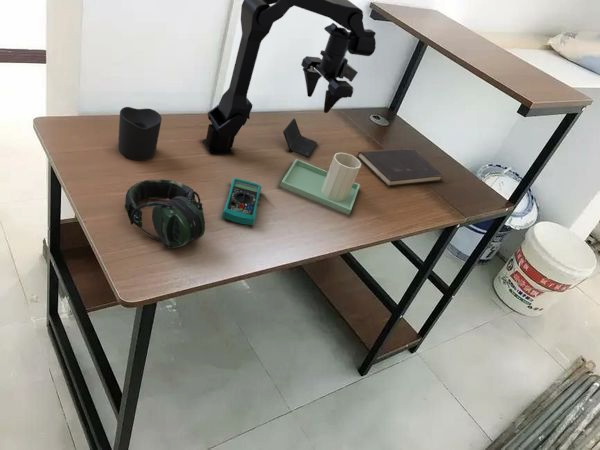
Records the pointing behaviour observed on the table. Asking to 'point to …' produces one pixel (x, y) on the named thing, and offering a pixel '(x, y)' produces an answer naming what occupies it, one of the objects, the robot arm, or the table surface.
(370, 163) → the hardcover book
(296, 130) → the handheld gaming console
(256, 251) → the table surface
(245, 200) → the digital multimeter
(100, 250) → the table surface
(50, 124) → the table surface
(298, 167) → the tray
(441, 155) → the table surface
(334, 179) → the cup
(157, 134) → the pen holder
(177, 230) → the headphones
